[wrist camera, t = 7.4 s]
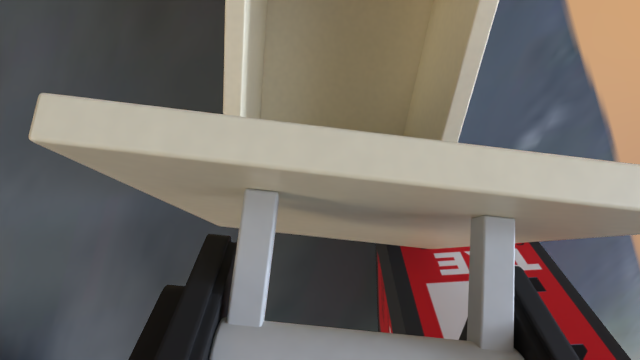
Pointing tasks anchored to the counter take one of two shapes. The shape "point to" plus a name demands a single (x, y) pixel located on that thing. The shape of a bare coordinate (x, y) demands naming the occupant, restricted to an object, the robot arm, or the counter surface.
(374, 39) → the cool box
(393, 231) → the cool box door
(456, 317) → the cleaning product box
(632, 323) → the counter surface
